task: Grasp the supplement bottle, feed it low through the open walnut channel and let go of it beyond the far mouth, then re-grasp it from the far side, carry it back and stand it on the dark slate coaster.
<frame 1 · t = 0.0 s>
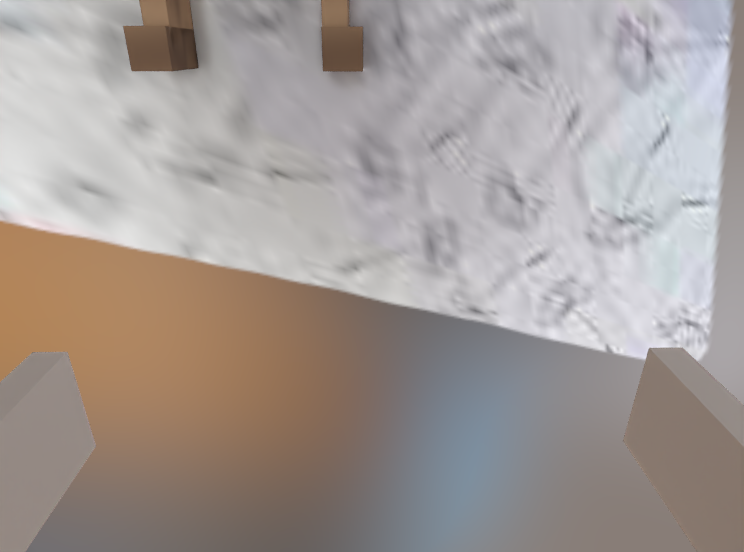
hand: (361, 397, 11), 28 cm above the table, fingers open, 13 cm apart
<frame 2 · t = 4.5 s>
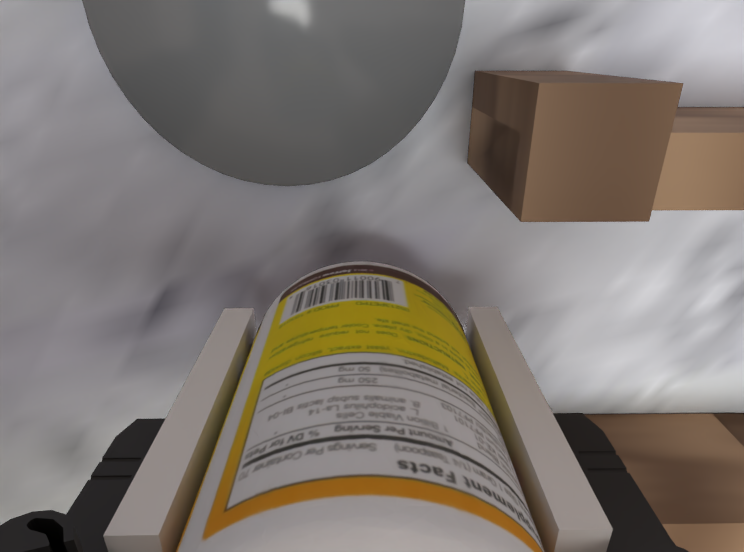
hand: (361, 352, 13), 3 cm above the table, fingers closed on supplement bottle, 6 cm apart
slate coaster: (278, 0, 12), on the table
walnut channel: (641, 303, 16), on the table
supplement bottle: (362, 341, 14), point 2 cm above the table, touching gripper
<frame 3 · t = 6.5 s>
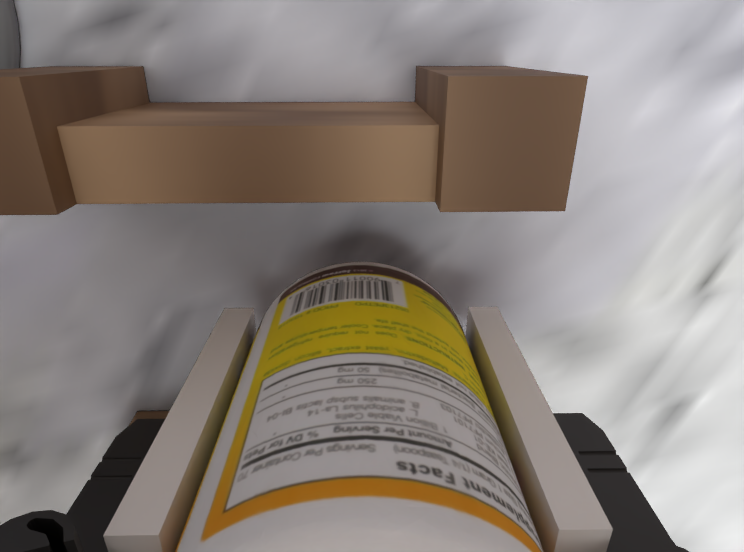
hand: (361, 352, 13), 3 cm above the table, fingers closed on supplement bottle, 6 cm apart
walnut channel: (297, 298, 16), on the table
supplement bottle: (361, 341, 14), point 3 cm above the table, touching gripper
when the fingers open (1 cm above the table, at t = 8.9 s): supplement bottle stays where it is, on the table.
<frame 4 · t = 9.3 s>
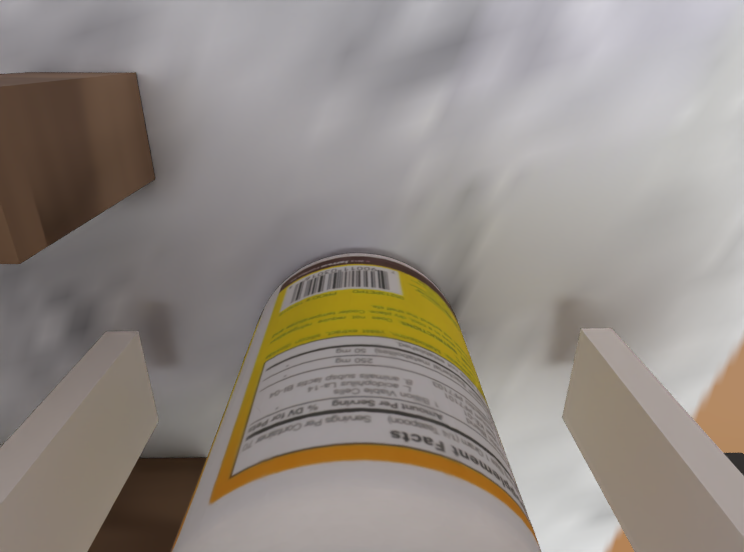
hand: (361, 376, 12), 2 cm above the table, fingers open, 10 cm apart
supplement bottle: (359, 331, 14), on the table
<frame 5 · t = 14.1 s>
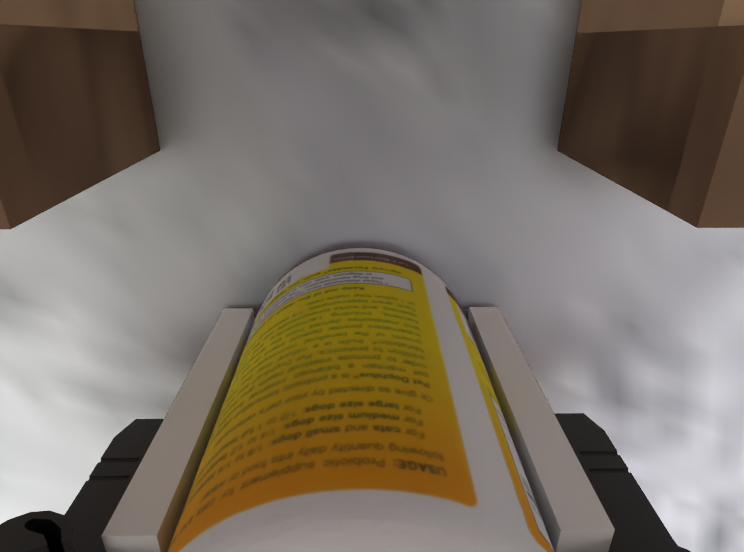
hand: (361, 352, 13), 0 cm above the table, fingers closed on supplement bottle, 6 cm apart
supplement bottle: (361, 331, 13), on the table, touching gripper
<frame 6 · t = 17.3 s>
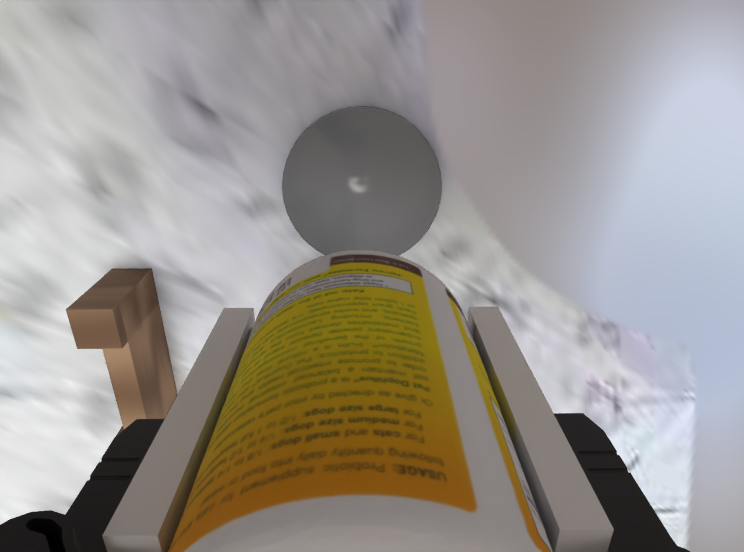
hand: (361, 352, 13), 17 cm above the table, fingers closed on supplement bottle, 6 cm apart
slate coaster: (362, 188, 28), on the table
walnut channel: (235, 350, 33), on the table
supplement bottle: (362, 333, 13), point 16 cm above the table, touching gripper
when the fingers open (1 cm above the table, at t = 20.2 s): supplement bottle stays where it is, resting on slate coaster.
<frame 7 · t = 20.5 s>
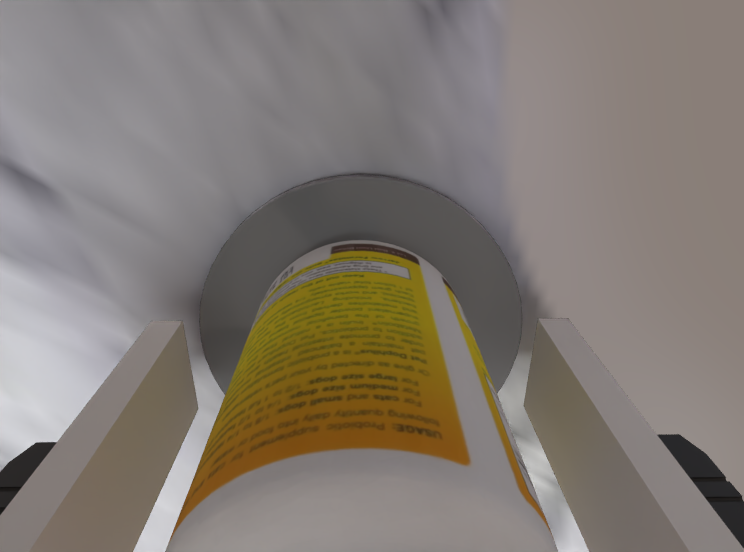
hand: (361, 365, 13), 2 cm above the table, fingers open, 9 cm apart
slate coaster: (361, 327, 14), on the table
supplement bottle: (361, 323, 14), resting on slate coaster
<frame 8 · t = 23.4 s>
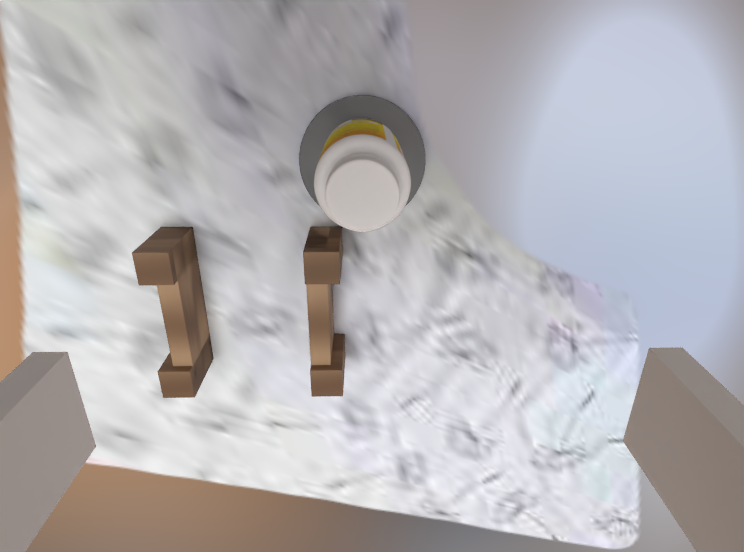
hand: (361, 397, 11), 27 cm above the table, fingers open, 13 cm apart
slate coaster: (362, 161, 36), on the table
walnut channel: (259, 296, 40), on the table
supplement bottle: (362, 157, 35), resting on slate coaster
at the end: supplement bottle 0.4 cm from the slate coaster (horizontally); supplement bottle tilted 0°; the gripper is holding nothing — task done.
